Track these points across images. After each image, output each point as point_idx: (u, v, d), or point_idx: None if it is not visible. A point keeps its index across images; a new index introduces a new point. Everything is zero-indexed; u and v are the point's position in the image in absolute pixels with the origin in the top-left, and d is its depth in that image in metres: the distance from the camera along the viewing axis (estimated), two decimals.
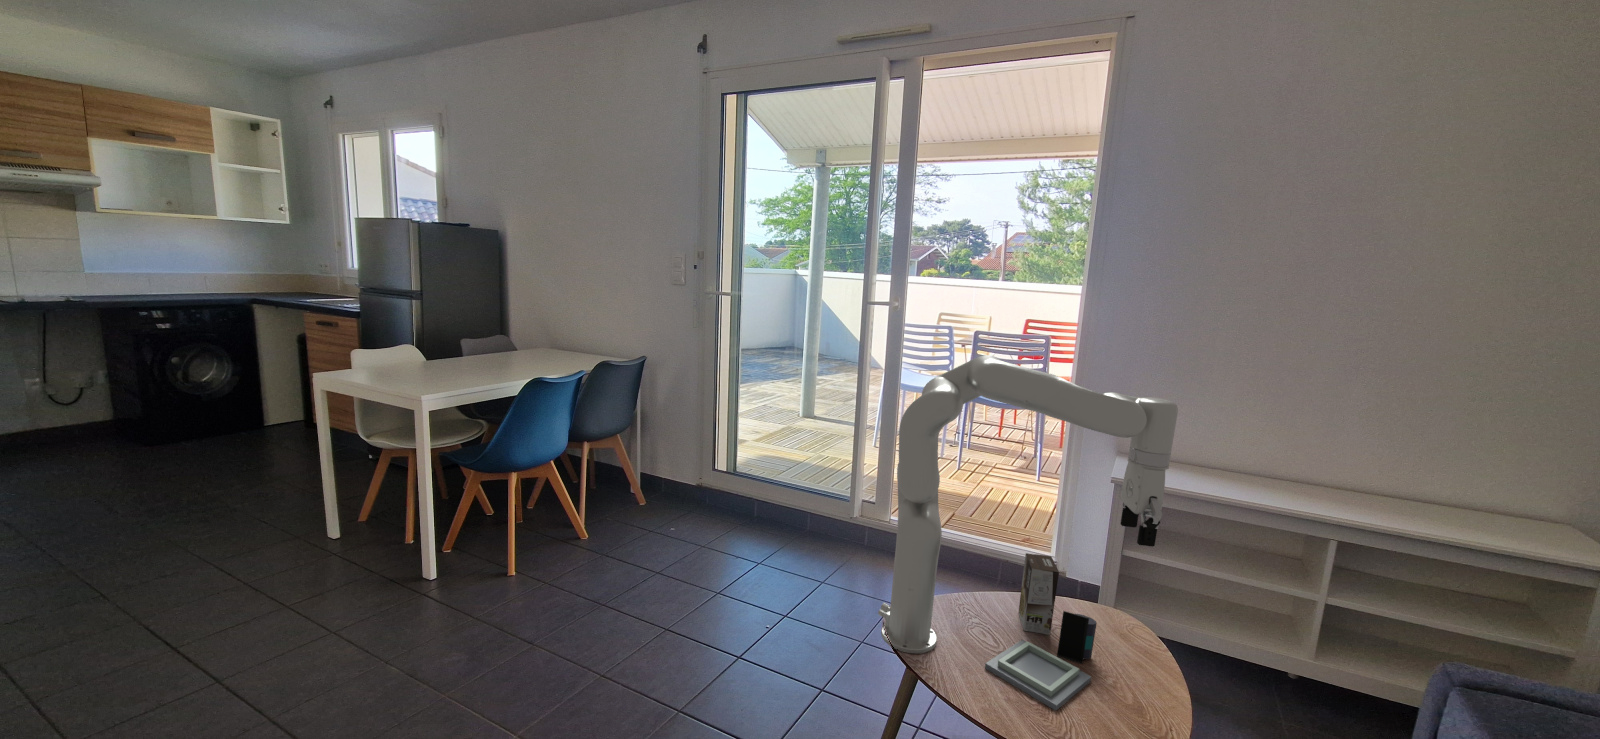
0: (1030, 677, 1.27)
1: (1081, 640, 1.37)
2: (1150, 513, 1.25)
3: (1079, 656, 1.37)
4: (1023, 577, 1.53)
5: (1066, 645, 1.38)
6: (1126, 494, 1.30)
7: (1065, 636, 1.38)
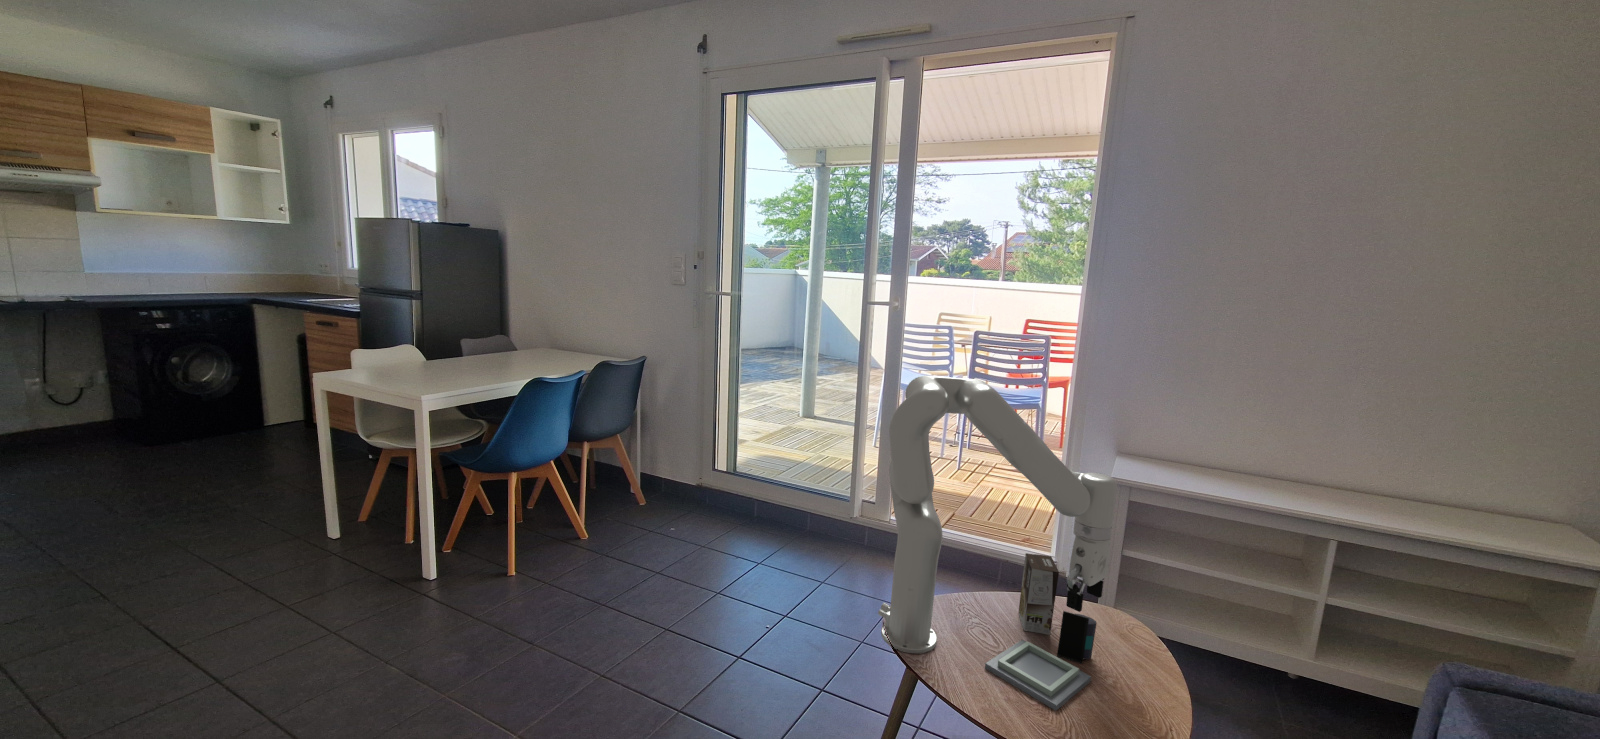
0: (1030, 677, 1.27)
1: (1081, 640, 1.37)
2: None
3: (1079, 656, 1.37)
4: (1023, 577, 1.53)
5: (1066, 645, 1.38)
6: (1099, 573, 1.34)
7: (1065, 636, 1.38)
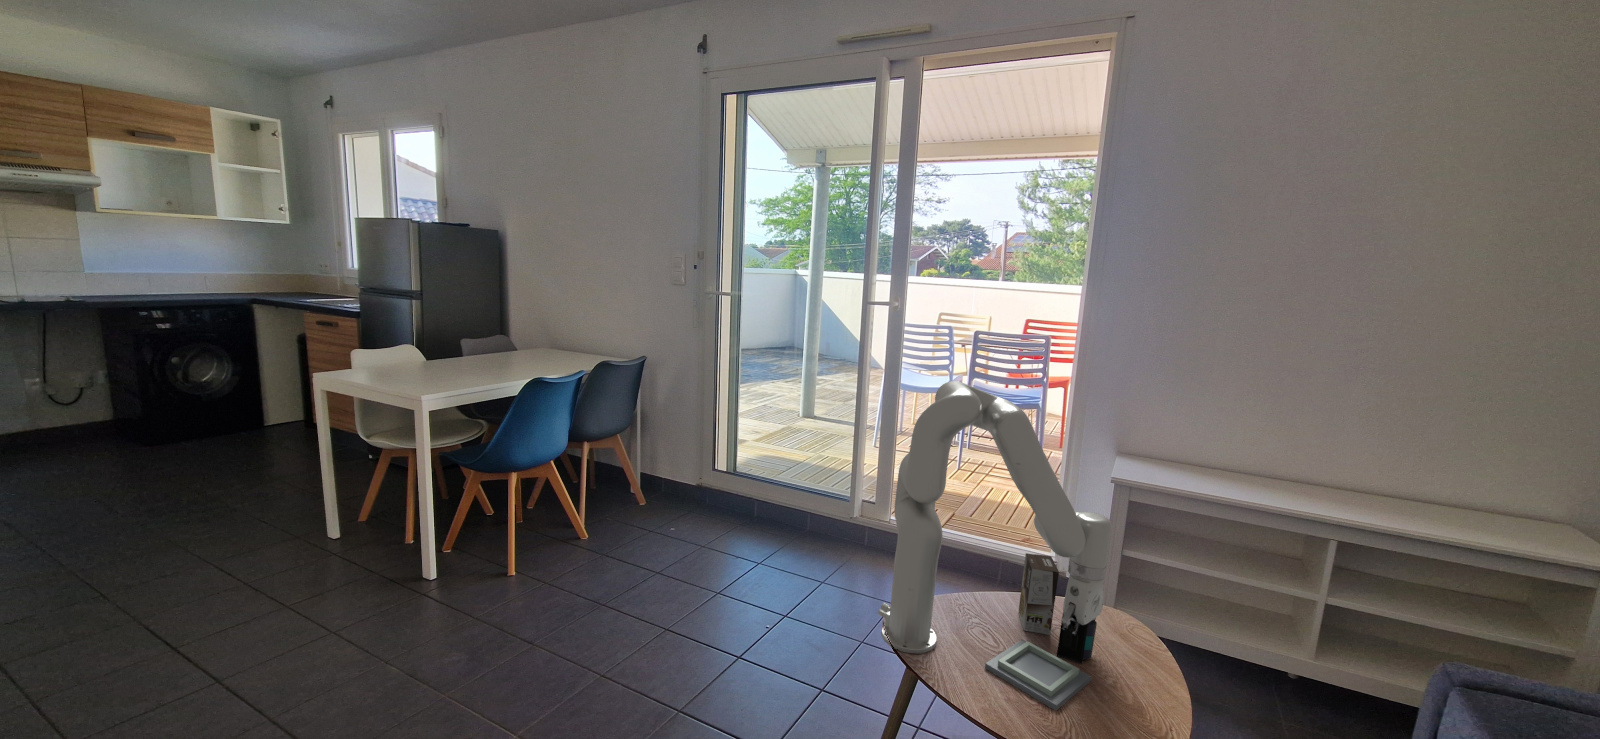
0: (1030, 677, 1.27)
1: (1081, 640, 1.36)
2: None
3: (1079, 656, 1.36)
4: (1023, 577, 1.54)
5: None
6: (1092, 611, 1.36)
7: None
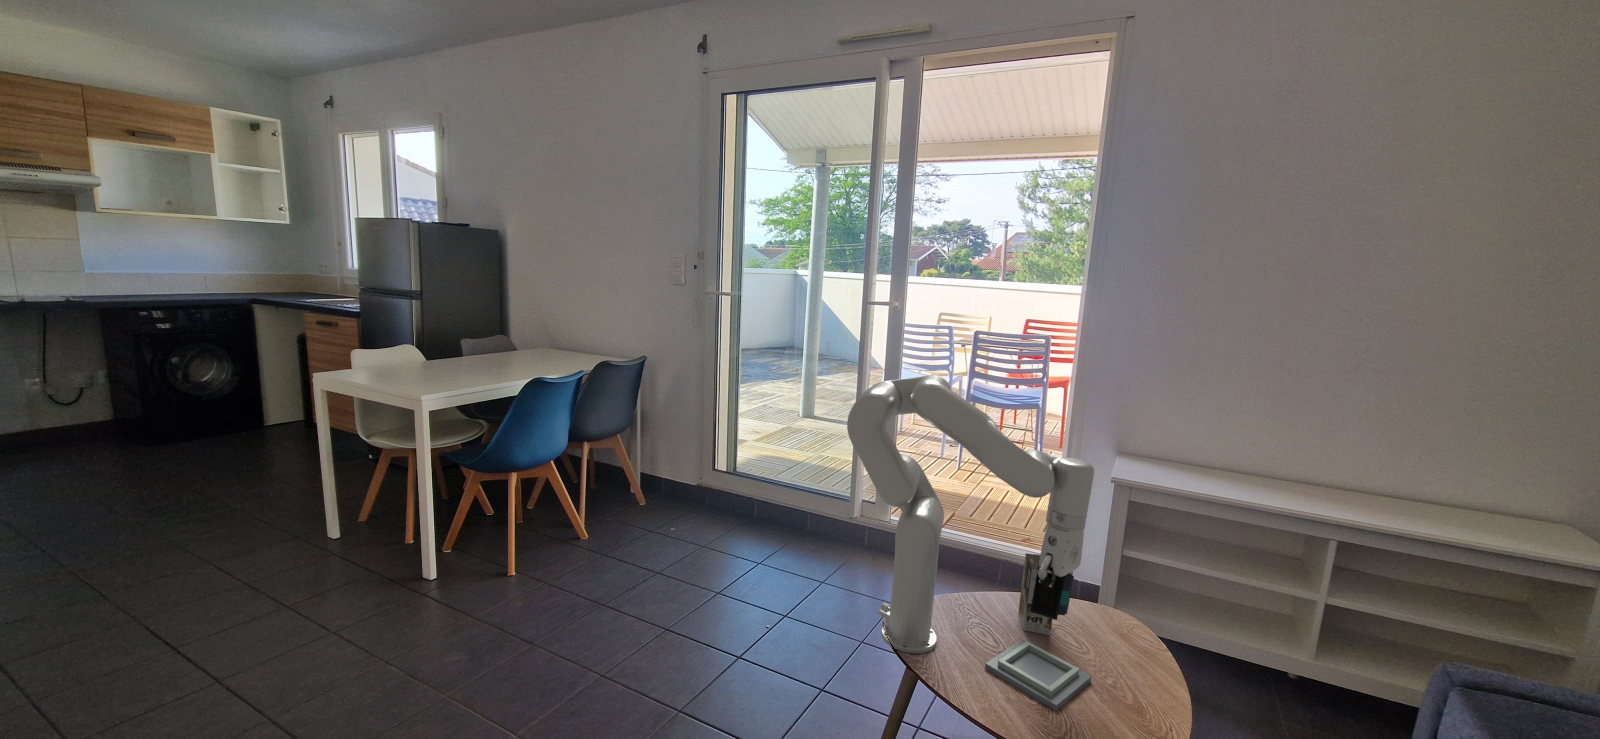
0: (1030, 677, 1.27)
1: (1056, 594, 1.27)
2: None
3: (1054, 612, 1.27)
4: (1023, 577, 1.54)
5: None
6: (1070, 563, 1.27)
7: None
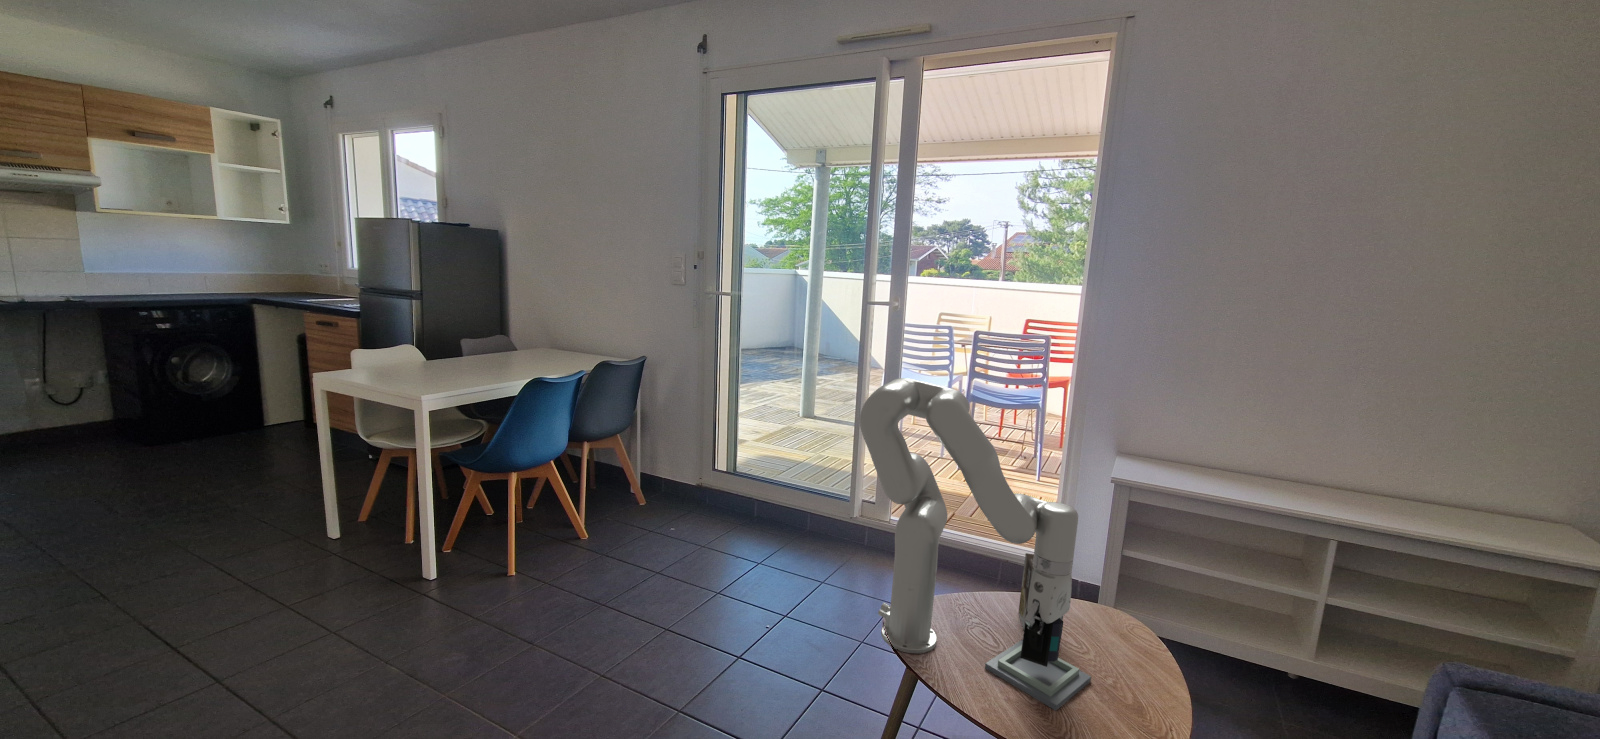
0: (1030, 677, 1.27)
1: (1046, 641, 1.27)
2: None
3: (1044, 658, 1.27)
4: (1023, 577, 1.53)
5: None
6: (1058, 609, 1.26)
7: None
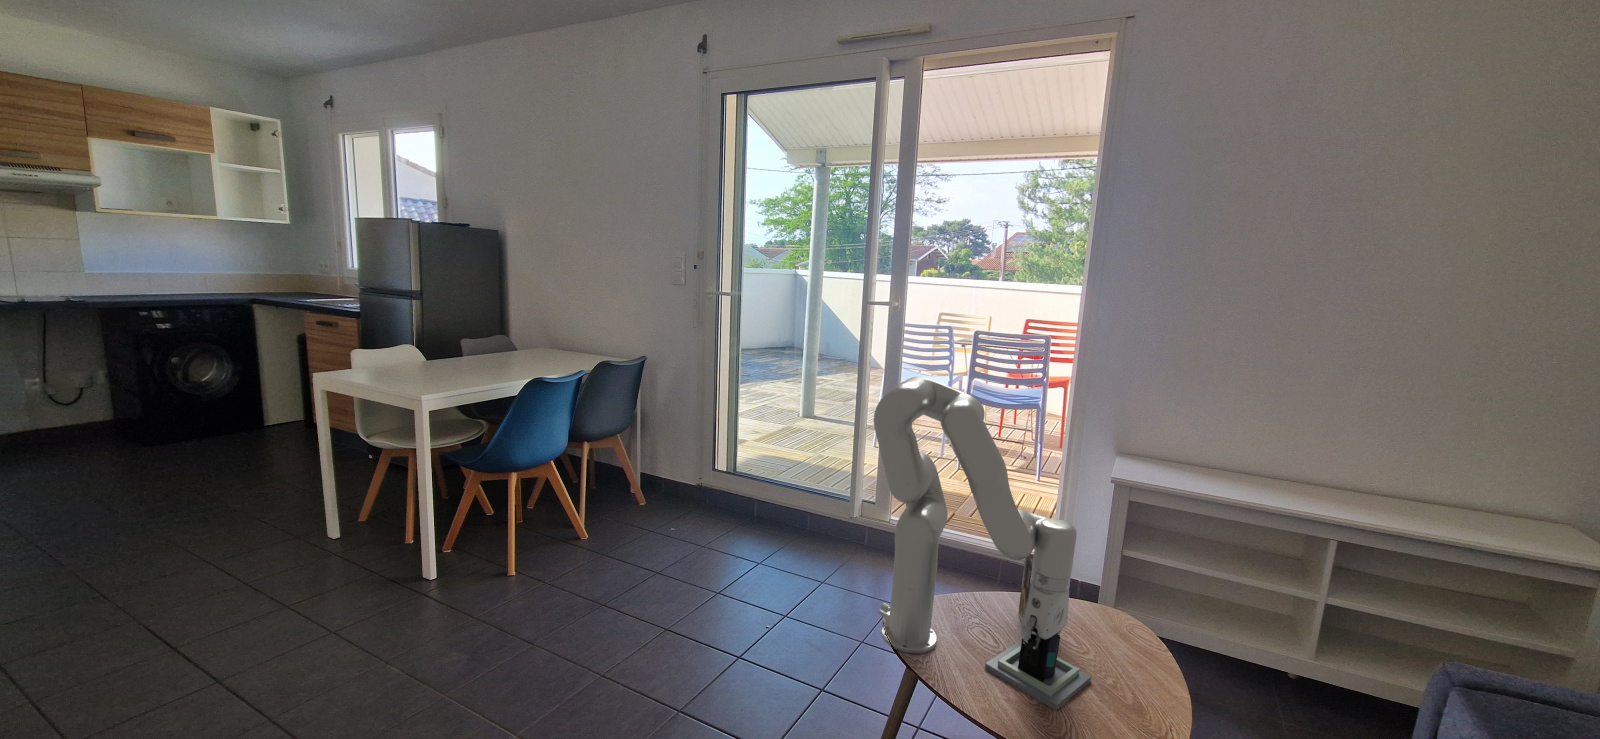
0: (1030, 677, 1.27)
1: (1042, 656, 1.27)
2: None
3: (1040, 674, 1.28)
4: (1023, 577, 1.54)
5: None
6: (1055, 625, 1.27)
7: None
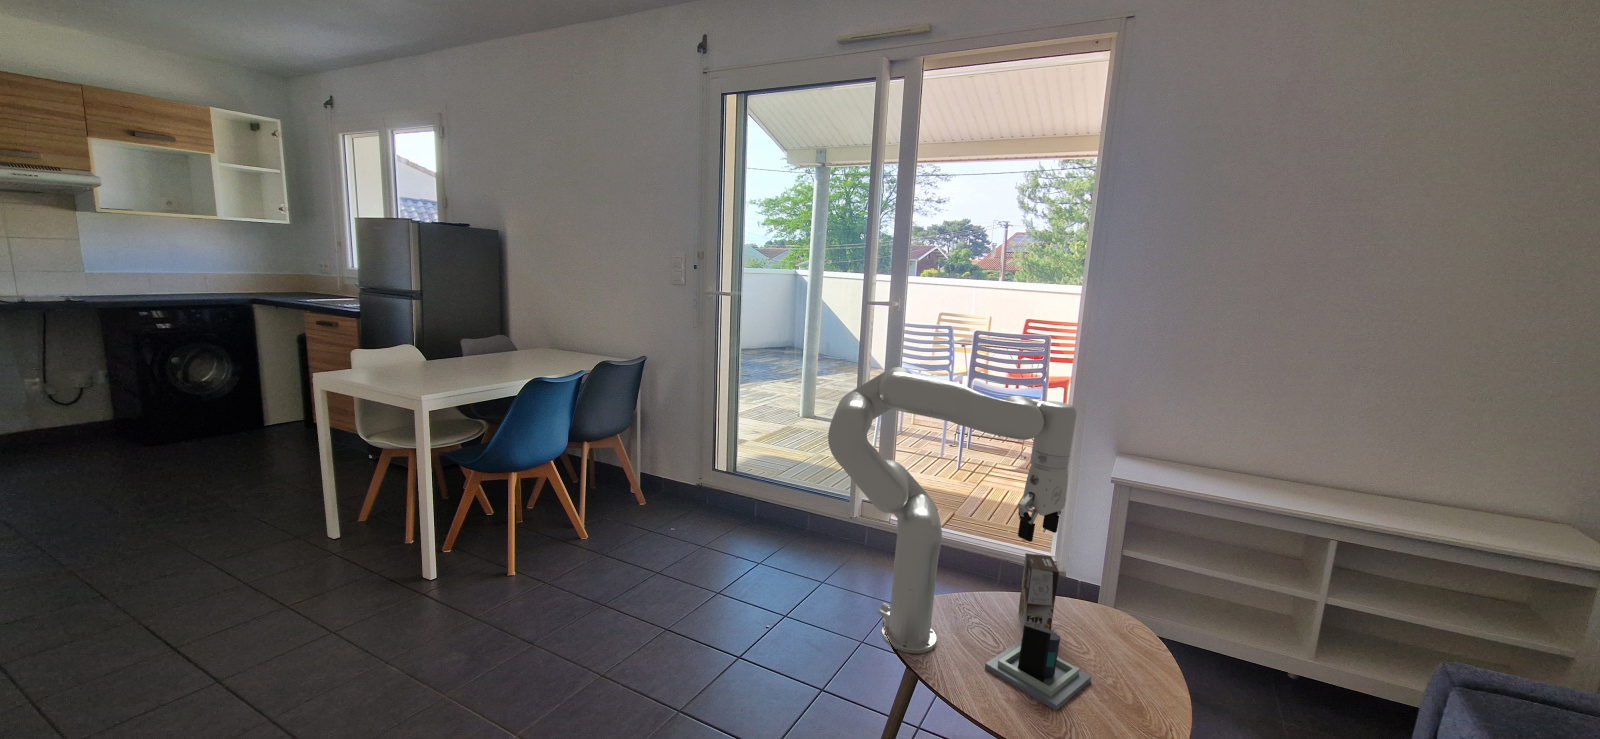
0: (1030, 677, 1.27)
1: (1042, 656, 1.27)
2: None
3: (1040, 674, 1.28)
4: (1023, 577, 1.54)
5: (1027, 661, 1.29)
6: (1052, 503, 1.30)
7: (1026, 652, 1.29)
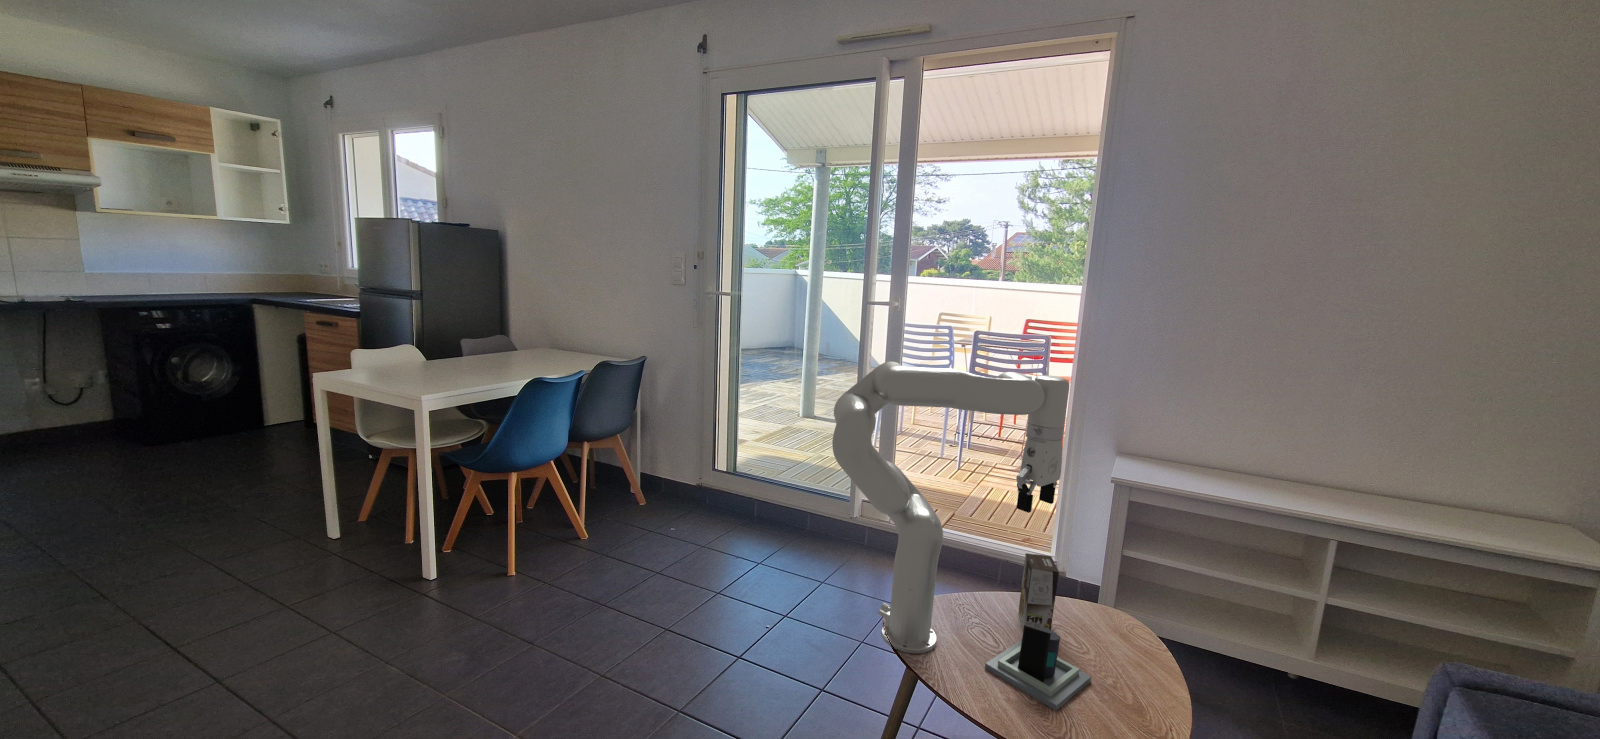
0: (1030, 677, 1.27)
1: (1042, 656, 1.27)
2: None
3: (1040, 674, 1.28)
4: (1023, 577, 1.54)
5: (1027, 661, 1.29)
6: (1049, 474, 1.34)
7: (1026, 652, 1.29)
